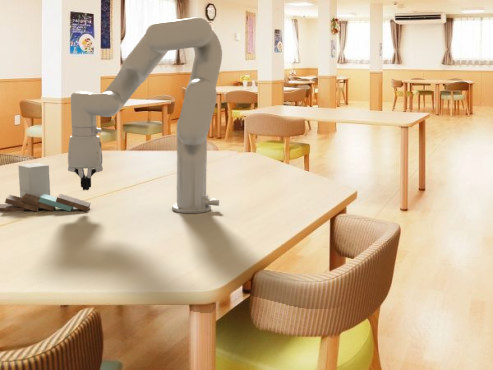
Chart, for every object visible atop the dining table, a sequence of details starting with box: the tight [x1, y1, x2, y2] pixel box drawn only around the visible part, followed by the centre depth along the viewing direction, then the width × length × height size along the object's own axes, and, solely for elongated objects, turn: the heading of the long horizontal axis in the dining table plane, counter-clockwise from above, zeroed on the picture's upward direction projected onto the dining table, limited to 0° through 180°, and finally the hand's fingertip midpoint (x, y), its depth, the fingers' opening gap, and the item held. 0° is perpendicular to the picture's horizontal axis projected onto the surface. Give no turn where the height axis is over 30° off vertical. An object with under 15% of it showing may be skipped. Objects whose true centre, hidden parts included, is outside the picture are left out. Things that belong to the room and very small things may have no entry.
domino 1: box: [0, 203, 27, 213], centre depth 190 cm, size 2×5×10 cm
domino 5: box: [56, 193, 91, 212], centre depth 192 cm, size 2×5×10 cm
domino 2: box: [4, 194, 41, 212], centre depth 190 cm, size 2×5×10 cm
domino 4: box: [39, 194, 74, 212], centre depth 191 cm, size 2×5×10 cm
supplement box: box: [17, 162, 51, 198], centre depth 200 cm, size 7×7×13 cm
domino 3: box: [21, 193, 56, 212], centre depth 191 cm, size 2×5×10 cm
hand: (86, 189), depth 191 cm, fingers closed
